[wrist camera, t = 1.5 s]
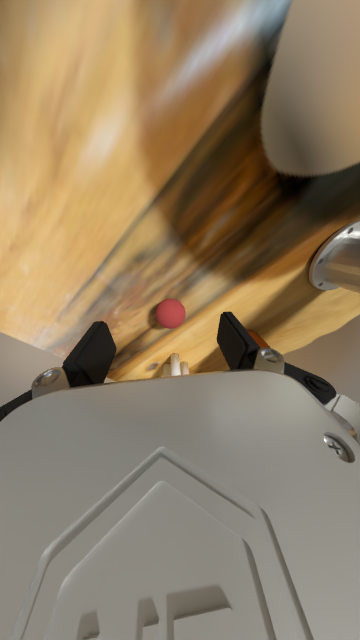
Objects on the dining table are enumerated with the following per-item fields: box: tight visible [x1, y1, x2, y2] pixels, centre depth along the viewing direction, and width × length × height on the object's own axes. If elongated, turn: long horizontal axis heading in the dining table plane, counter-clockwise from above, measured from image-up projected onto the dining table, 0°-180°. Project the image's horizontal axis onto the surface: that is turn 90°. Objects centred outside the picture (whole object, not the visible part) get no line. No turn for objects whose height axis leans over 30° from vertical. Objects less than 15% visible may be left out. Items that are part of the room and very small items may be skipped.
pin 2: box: [180, 362, 189, 375], centre depth 37 cm, size 2×2×8 cm
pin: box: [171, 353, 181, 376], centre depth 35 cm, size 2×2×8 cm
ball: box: [156, 299, 185, 329], centre depth 27 cm, size 6×6×6 cm
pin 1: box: [163, 363, 171, 377], centre depth 37 cm, size 2×2×8 cm
